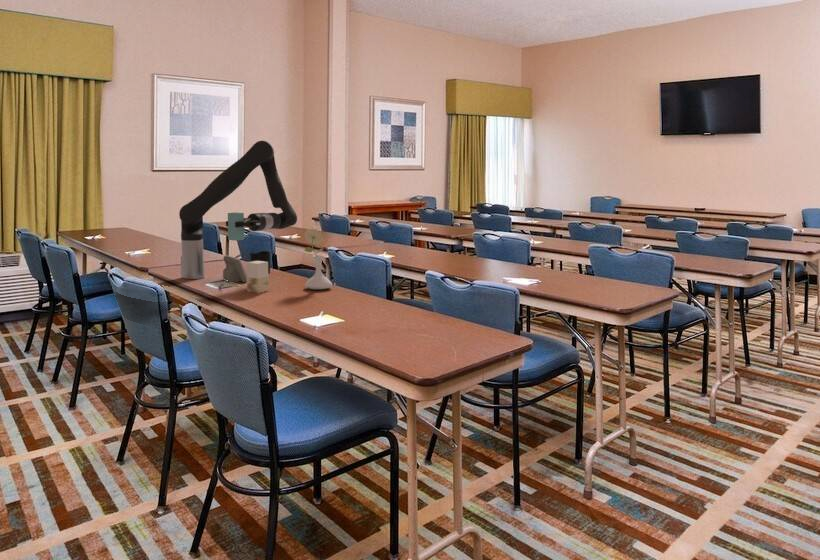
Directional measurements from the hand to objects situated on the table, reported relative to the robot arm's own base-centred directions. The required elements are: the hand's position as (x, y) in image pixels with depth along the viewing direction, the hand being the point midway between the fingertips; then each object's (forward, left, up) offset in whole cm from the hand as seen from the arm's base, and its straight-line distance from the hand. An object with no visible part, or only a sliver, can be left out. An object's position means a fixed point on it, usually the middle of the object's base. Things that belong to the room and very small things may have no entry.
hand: (231, 224), depth 267 cm
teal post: (0, +3, -7) cm, 7 cm away
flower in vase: (+29, +19, -27) cm, 44 cm away
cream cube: (+13, +1, -21) cm, 24 cm away
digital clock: (-12, +14, -27) cm, 33 cm away
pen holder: (-17, +35, -27) cm, 47 cm away
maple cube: (+13, +1, -27) cm, 30 cm away
